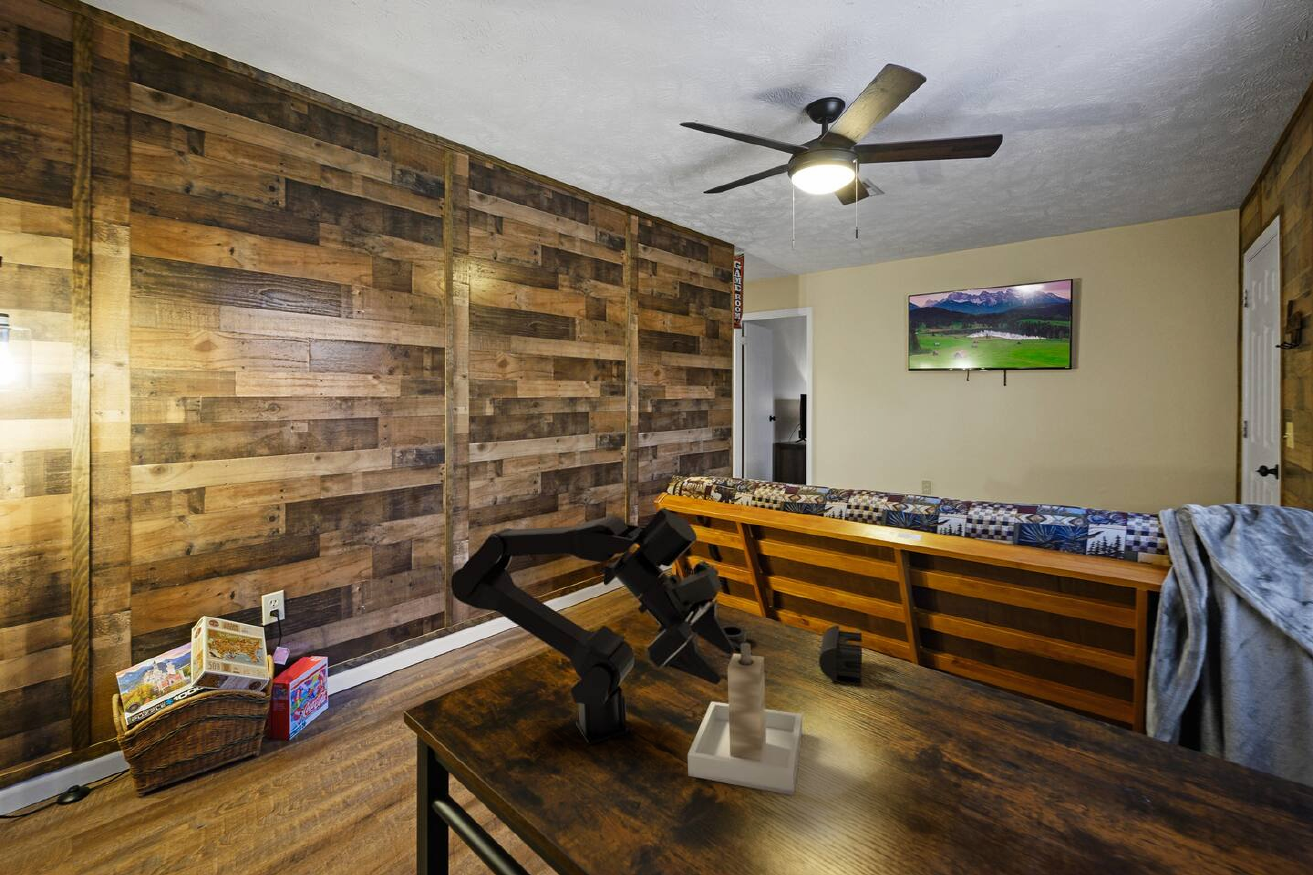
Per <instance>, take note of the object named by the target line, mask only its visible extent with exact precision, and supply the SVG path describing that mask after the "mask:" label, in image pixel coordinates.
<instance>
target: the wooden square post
mask: <svg viewBox="0 0 1313 875" xmlns="http://www.w3.org/2000/svg"><path fill="white" fill-rule="evenodd" d="M765 683H766V681H765V656H759V655H758V656H757V655H752V648H751V643H749V642H746V643H742V644H741V649H740V653H733V654H732V657H731V659H730V661H729V663H728V666H727V690H728V692H727V694H728V695H727V696H728V704H729V734H730V756H732V757H738V758H744V759H749V760H755V761H762V757H763V753H764V749H765V745H766V720H765V709H766V690H765V688H766V685H765Z"/></svg>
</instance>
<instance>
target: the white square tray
mask: <svg viewBox="0 0 1313 875" xmlns="http://www.w3.org/2000/svg"><path fill="white" fill-rule="evenodd" d="M765 720H766V745H765V749H764V753H763V757H762V761H755V760H749V759H744V758H738V757H732V756H730V734H729V703H725V702H718V701H711V702H710V704H709V706H708V708H707V710H706V712H705V715H704V716H703V719H702V721H701V723H700V726H699V729H698V731H697V732H696V735H695V737H694V740H693V742H692V744H691V746H690V749H689V751H688V753H687V774H688V777H692V778H693V777H694V778H697V779H698V778H699V779H703V780H709V781H714V782H720V783H725V784H730V785H735V786H741V787H746V788H752V789H757V790H761V791H767V792H773V793H779V794H783V795H787V796H788V795H789V796H795V795H794V793H795V787H796V779H797V773H798V766H799V760H800V753H801V752H800V751H801V743H802V738H803V714H802V713H797V712H789V711H781V710H775V709H767V708H765Z"/></svg>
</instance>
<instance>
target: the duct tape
mask: <svg viewBox="0 0 1313 875" xmlns="http://www.w3.org/2000/svg"><path fill="white" fill-rule="evenodd" d="M722 627H723V629H724V631H725V633H726V635H727V637H728V638H729V640H730V642H731V644H732V646H733V648H734V651H735V650H741V644H742V643H747V638H746V637H747V636H746V633H747V632H746V629H745V628H743V627H742V626H738V625H733V624H731V625H729V624H728V625H723V626H722Z"/></svg>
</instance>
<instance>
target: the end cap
mask: <svg viewBox="0 0 1313 875" xmlns="http://www.w3.org/2000/svg"><path fill="white" fill-rule="evenodd" d="M862 638H863V634H862V632H853V631H844V630H840V625H834V626H831V627H828V628H827V629H826V630H825V632H824V633H823V636H822V640H821V647H820V650H819V651H820V652H819V656H818V666H819V668H820V670H821V673H823V675H824V676H825V677H827V678H828V679H830V681H832V682H833V683H835V684H839V685H847V686H855V687H861V686H862V683H863V682H862V679H863V647H862V645H859V644H852V643H848V642H857V643H862V641H863V639H862Z"/></svg>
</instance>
